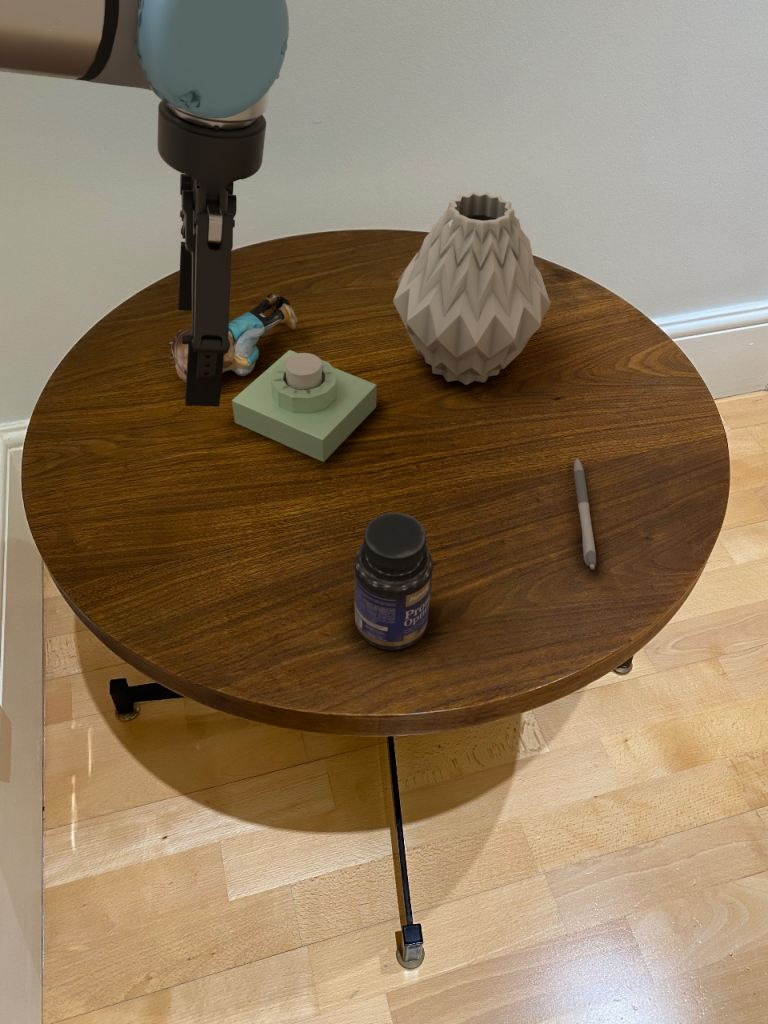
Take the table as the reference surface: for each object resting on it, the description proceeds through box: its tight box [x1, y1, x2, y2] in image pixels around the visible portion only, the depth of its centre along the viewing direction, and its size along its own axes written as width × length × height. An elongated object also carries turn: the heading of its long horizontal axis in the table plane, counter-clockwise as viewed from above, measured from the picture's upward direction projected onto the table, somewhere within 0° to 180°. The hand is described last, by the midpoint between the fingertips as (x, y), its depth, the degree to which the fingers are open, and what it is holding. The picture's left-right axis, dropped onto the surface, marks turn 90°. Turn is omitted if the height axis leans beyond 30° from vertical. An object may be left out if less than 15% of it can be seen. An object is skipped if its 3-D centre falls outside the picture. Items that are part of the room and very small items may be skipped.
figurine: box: [167, 292, 298, 384], centre depth 95 cm, size 8×16×6 cm, turn 135°
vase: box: [393, 191, 551, 386], centre depth 91 cm, size 16×16×18 cm
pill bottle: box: [353, 512, 434, 651], centre depth 69 cm, size 6×6×11 cm
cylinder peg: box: [285, 352, 322, 390], centre depth 87 cm, size 4×4×2 cm
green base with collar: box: [231, 349, 378, 463], centre depth 89 cm, size 11×10×5 cm
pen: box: [573, 458, 597, 571], centre depth 81 cm, size 1×14×1 cm, turn 176°
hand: (197, 353), depth 76 cm, fingers open, 13 cm apart
